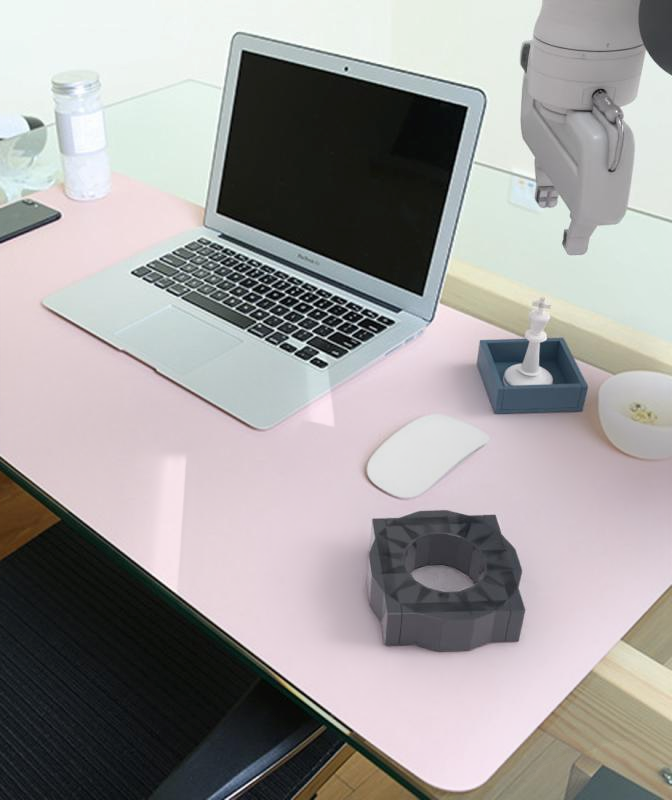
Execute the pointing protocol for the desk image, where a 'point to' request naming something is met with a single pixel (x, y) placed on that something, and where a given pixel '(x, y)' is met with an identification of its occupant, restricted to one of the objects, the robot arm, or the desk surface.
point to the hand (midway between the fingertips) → (558, 227)
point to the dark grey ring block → (435, 610)
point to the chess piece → (532, 351)
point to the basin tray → (531, 398)
